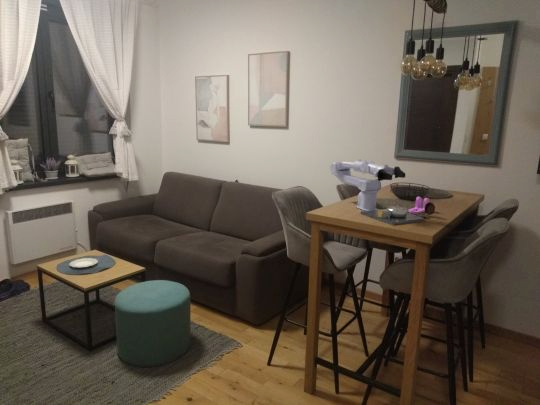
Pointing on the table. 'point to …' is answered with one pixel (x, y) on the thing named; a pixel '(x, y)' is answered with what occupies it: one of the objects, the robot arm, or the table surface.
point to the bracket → (419, 206)
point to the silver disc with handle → (393, 212)
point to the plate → (390, 219)
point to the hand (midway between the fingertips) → (398, 176)
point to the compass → (427, 210)
